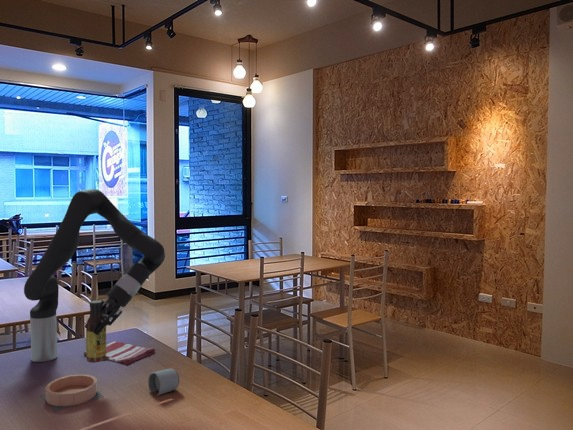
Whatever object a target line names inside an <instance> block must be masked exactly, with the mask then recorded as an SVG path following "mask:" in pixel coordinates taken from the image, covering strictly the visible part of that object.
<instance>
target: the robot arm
mask: <svg viewBox="0 0 573 430" xmlns="http://www.w3.org/2000/svg"><path fill="white" fill-rule="evenodd" d="M95 214H98V215H99V216H101V217H102V218H103V219H105V220H106V221H107V222H108V223H109V224H110V226H111V227H112V230H113V231H114V233H115V235H116V236H117V237H118V238H119V239H120V240H121V241H122V242H124V244H126V245H127V246H129V247H130V248H131V249H132V250H137V251H138V252H139V253H141V254H142V255H143V257H141V258H140V260H139V261H138V262H135V263H133V264H132V265H131V266H130V267H129V269H127V270H126V272H125V274H123V275H122V276H121V277H120V278H119V279H118V280H117V282H116V283H115V284H114V285H112V287H111V289H110V290H109V291H108V292H107V294H106V296H107V297H108V298H107V299H106V300H105V301H104V300H103V299H100V301H102V303H103V305H102V316H103V317H102V319H101V321H100V322H101V323H100V322H99V323H98V325H97V326H96V327H95V328H94V329H93V331H92V332H93V333H95V334H96V335H98V334H99V333H100V332H101V331H102V329H103V328H104V327H105V326H106V327H107V326H111V325H113V324H114V322H115V321H116V320H117V319H118V318H119V317H120V316H121V314H123V310H121V308H126V306H127V305H128V304H129V303H130V302H131V300H132V299H133V298H134V297H135V295H136V294H137V293H138V291H139V290H140V288H141V287H142V286H143V285H144V283H145V282H146V281H147V280H148V278H149V277H150V276H151V275H152V274H153V273H154V272H155V271H157V269H159V267H160V266H161V265H162V264H163V262H164V261H165V258H166V254H165V248H164V245H162V244H161V242H159V241H158V240H157V239H155V238H153V237H152V236H151V235H148V234H146V233H145V232H144V231H143V230H141V229H140V228H139V227H138V226H136V225H135V224H134V223H132V222H131V220H129V219H128V218H127V217H126V216H125V215H124V214H123V213H122V212H121V211H120V210H119V209H118V208H117V206H115V205H114V203H112V201H111V199H109V198H108V197H107V195H105V194H104V193H103V192H102V191H101V190H99V189H97V188H89V189H83V190H79V191H77V192H76V193H74V194H73V196H72V198H71V199H70V202H69V204H68V207H67V210H66V213H65V215H64V217H63V219H62V220H61V223H60V224H59V226H58V228H57V231H56V232H55V233H54V235H53V237H52V239H51V240H50V242H49V244H48V245H47V246H48V247H47V248H46V250H45V252H44V253H43V255H42V257H41V258H40V260H39V262H38V264H37V265H36V266H35V268H34V269H33V271H32V272H31V274H30V275H29V277H28V278H27V279H26V281H25V282H24V286H23V294H24V296H25V298H26V299H27V300H30V301H31V302H32V301H38V302H37V303H36V304H35V305H34V306H33V307H32V308H31V309H30V310H29V320H30V321H29V322H30V323H29V324H30V325H29V326H30V356H31V358H30V359H31V361H32V362H34V363H35V362H36V363H43V362H49V361H52V360H56V358H58V334H57V333H58V328H57V327H58V326H57V323H58V322H57V309H58V307H59V293H60V292H59V282H58V278H57V277H56V276H55V275H54V274H55V273H56V272H57V271H58V270H60V269H61V268H62V267H64V266H65V265H66V264H67V263H68V262H69V261H70V260H71V259H72V257H73V256H74V254H75V253H76V251H77V249H78V247H79V244H80V241H81V240H80V235H81V234H80V230H81V228H82V225H83V224H84V222H85V221H86V219H87V218H88V217H89V216H91V215H95ZM84 328H85V329H87V327H86V324H85V325H84Z"/></svg>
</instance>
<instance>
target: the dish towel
mask: <svg viewBox="0 0 573 430" xmlns="http://www.w3.org/2000/svg"><path fill="white" fill-rule="evenodd" d="M155 352H156V349H154V348H150V347H149V348H148V347H142V346H137V345H133V344H129V343H125V342H122V341H114V340H113V341H109V342H108V343H107V342H106V358H105V360H103V361H105V362H107V361H110V362H115V363H118V364H122V365H124V366H128V365H129V364H131V363H132V364H133V363H134V362H135V361H139V360H141V359H143V358H145V357H148V356H149V355H153V354H155ZM83 355H84V356H86V350H85V351H84V352H83Z"/></svg>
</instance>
